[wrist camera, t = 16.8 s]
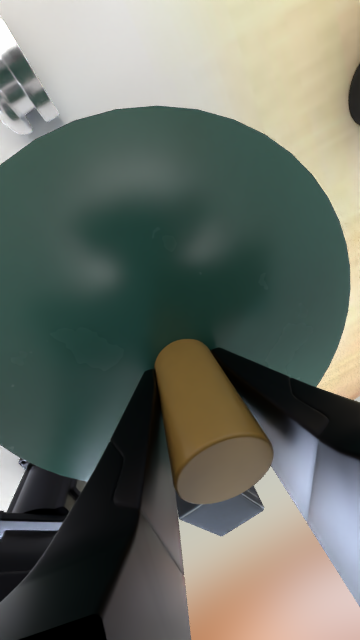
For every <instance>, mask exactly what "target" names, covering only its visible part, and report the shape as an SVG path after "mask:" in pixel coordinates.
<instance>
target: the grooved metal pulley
mask: <svg viewBox="0 0 360 640" xmlns="http://www.w3.org/2000/svg"><path fill="white" fill-rule="evenodd" d="M35 108H36V109H37V111H38V112H39V113H40V115H41V116H42V118H43V119H44V120H45V121H46V122H47V123H48V122H49V121H51V120H53V119H54V118H56V117H58V116H59V115H60V114H59V112H58V111H57V109H56V107H55V105H54V104H53V102H52V100H51V99H50V97H49V95H48V93H47V92H46V90H45V88H44V87H43V85H42V83H41V82H40V80H39V78H38V77H37V75H36V73H35V71H34V70H33V68H32V66H31V65H30V63H29V61H28V60H27V58H26V56H25V55H24V53H23V51H22V50H21V48H20V46H19V45H18V43H17V41H16V39H15V38H14V36H13V34H12V33H11V31H10V29H9V28H8V26H7V24H6V23H5V21H4V19H3V18H2V16H1V14H0V120H1V121H2V122H3V123H4V124H5V125H6V126H7V127H8V128H9V129H11V130H12V131H14V132H15V133H17V134H20V135H28V134H30V133H31V132H33V128H32V126H31V124H30V122H29V121H28V119H27V117H26V115H25V114H27V113H29V112H30V111H32V110H34V109H35Z"/></svg>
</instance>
